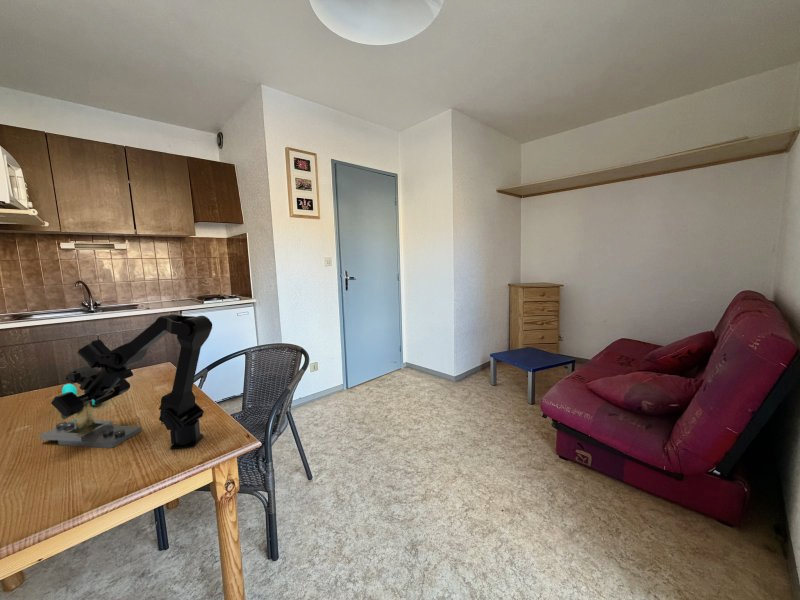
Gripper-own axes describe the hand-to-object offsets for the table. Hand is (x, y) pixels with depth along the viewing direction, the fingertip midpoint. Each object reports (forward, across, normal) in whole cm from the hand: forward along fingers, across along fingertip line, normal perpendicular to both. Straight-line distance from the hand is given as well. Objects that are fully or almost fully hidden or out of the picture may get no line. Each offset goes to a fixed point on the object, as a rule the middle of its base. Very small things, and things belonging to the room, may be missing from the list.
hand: (80, 411), depth 99 cm
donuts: (+22, -19, -10) cm, 31 cm away
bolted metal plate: (+4, 0, +8) cm, 9 cm away
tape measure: (-8, -13, +20) cm, 25 cm away
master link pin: (+5, 0, +7) cm, 9 cm away
